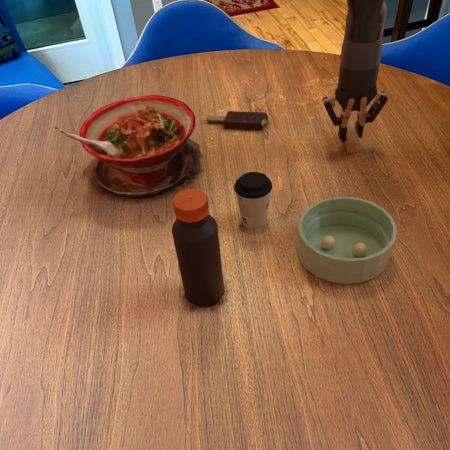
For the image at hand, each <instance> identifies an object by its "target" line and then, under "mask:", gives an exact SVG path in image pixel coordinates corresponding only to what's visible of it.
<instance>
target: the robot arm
mask: <svg viewBox="0 0 450 450" xmlns="http://www.w3.org/2000/svg"><path fill="white" fill-rule="evenodd" d="M346 7H347V9H346V15H345V24H344V33H343V40H342V43H341V51H340V55H339V59H340V60H339V71H338V80H337V87H336V89H335V91H334V94H333V95H331V96H329V97H327V96H324V97H323V98H322V100H321V101H322V103H323V106H324V109H325V111H326V113H327V115H328V117H329V119H330V121H331V123H332V125H333V126H334V127H338V130H337V137H338V139H339V141H341V143H342V144H343V143H345V140H346V134H347V123H348V120H350V119H351V118H350V117H351V114H352V112H356V119H357V120H356V121H355V124H354V127H355V129H356V132H357V134H358V136H359V139H362V138H363V136H364V135H363V134H364V129H365V128H364V127H365V125H366V124H367V123H369V124H371V123H374V121H375V120H376V119H377V117H378V116H379V114H380V112H381V111H382V110H383V108H384V106H385V105H387V102H388V101H389V97H388V96H387V93H386V92H385V91H383V90H382V91H379V90H378V88H377V82H378V76H379V71H380V64H381V58H382V53H383V37H384V31H385V24H386V19H387V18H386V17H387V4H386V1H385V0H346ZM336 101H337V103H338V104H339V106H340V114H339V116H337V114H336V112H335V110H334V108H335V106H336ZM372 101H373V102H372ZM371 102H372V104H371V105H370V103H371ZM369 105H370V107H369V108H368V110H367V107H368V106H369Z"/></svg>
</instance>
